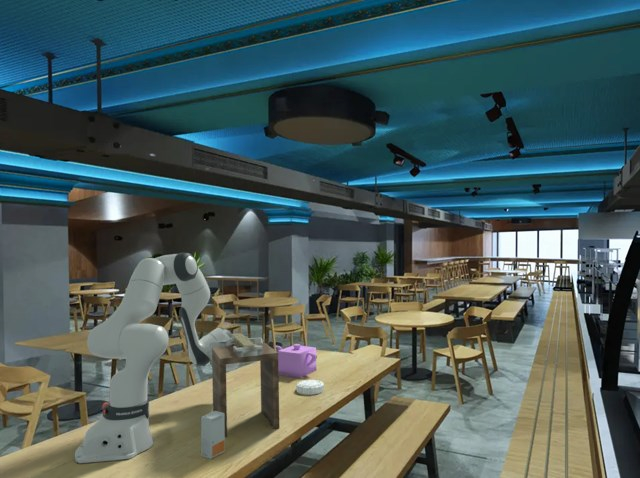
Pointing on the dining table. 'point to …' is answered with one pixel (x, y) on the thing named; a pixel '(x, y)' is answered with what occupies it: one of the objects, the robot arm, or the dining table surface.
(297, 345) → the teapot
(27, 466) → the dining table surface
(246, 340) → the bar
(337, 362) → the dining table surface
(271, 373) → the stand
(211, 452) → the skincare box
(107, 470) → the dining table surface
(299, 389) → the mooncake
